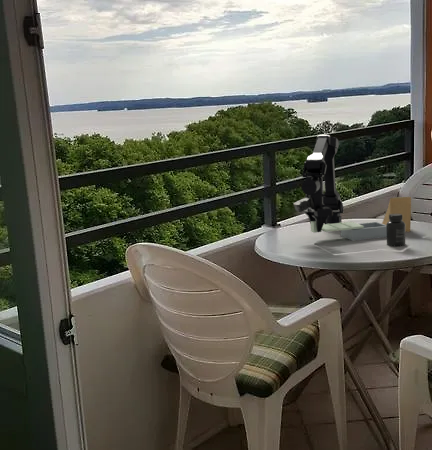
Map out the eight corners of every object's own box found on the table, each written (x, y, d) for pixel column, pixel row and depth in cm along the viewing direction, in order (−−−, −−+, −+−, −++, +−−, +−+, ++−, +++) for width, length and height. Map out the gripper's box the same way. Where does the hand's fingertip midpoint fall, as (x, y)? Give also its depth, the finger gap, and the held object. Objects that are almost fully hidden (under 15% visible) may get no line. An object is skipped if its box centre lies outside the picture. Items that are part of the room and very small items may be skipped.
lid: (317, 234, 246) (317, 224, 245) (307, 229, 255) (307, 219, 255) (363, 229, 251) (363, 219, 250) (352, 225, 260) (351, 215, 259)
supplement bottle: (405, 244, 243) (406, 212, 240) (404, 248, 236) (405, 216, 234) (387, 243, 245) (387, 212, 243) (385, 247, 238) (385, 216, 236)
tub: (352, 242, 250) (351, 230, 249) (340, 237, 260) (340, 225, 259) (389, 238, 254) (389, 226, 253) (376, 233, 264) (376, 221, 263)
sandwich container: (400, 225, 276) (400, 191, 274) (411, 233, 261) (411, 196, 259) (380, 226, 276) (380, 192, 274) (390, 234, 261) (390, 197, 258)
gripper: (287, 189, 255) (288, 228, 258) (305, 196, 237) (306, 237, 240) (313, 187, 258) (313, 225, 261) (333, 193, 240) (333, 234, 243)
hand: (316, 230), depth 251 cm, fingers open, 5 cm apart
